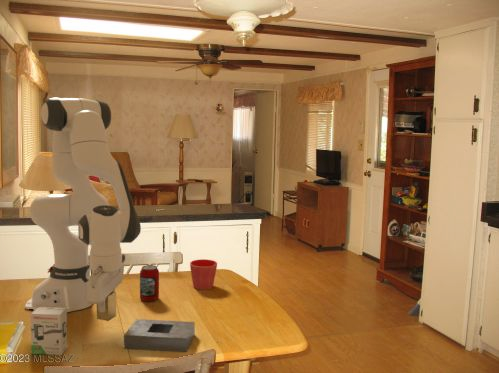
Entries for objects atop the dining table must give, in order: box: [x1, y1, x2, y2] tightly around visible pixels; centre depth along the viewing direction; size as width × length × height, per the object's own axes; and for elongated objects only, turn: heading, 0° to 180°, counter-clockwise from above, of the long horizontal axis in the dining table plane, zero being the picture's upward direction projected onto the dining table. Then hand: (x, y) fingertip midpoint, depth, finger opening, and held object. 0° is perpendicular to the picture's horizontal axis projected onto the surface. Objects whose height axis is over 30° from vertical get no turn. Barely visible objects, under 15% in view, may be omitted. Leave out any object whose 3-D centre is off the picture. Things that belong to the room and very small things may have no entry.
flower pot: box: [189, 258, 218, 291], centre depth 200 cm, size 11×11×10 cm
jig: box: [123, 318, 196, 353], centre depth 149 cm, size 18×12×4 cm, turn 86°
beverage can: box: [139, 264, 160, 302], centre depth 184 cm, size 7×7×12 cm
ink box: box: [30, 307, 68, 356], centre depth 141 cm, size 9×5×12 cm, turn 90°
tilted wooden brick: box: [96, 291, 117, 322], centre depth 150 cm, size 4×4×8 cm
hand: (106, 307), depth 150 cm, fingers closed on tilted wooden brick, 5 cm apart
